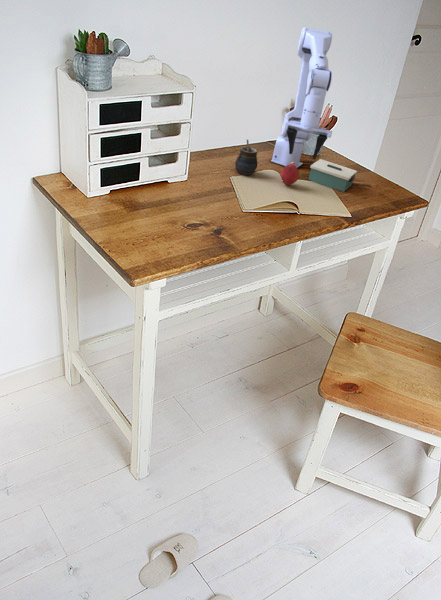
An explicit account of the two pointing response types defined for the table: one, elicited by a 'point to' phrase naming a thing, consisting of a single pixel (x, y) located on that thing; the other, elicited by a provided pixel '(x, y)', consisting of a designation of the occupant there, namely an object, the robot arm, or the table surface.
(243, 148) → the mate gourd
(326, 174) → the lunchbox
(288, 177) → the onion
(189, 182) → the table surface
